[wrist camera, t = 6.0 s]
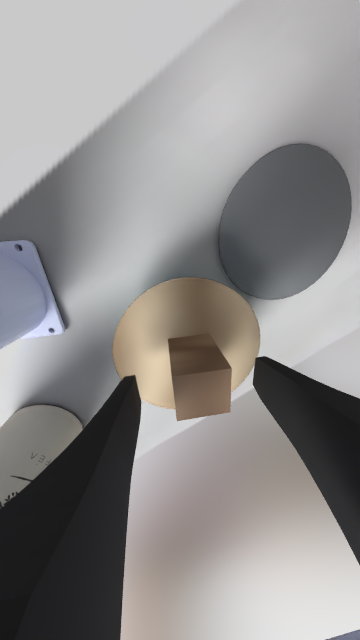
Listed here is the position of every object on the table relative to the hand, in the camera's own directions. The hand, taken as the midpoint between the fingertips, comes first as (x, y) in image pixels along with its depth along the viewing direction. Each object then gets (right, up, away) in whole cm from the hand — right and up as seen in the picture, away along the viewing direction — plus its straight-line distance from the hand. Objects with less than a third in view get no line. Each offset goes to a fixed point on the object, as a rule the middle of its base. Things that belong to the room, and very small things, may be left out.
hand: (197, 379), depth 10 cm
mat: (+8, +11, +5) cm, 15 cm away
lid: (0, +1, +3) cm, 4 cm away
